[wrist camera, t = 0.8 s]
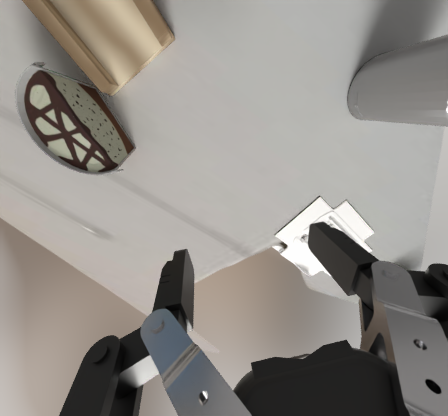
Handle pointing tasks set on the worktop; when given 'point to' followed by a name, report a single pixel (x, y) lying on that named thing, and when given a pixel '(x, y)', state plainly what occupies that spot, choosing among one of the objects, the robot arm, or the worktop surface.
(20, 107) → the food container
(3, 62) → the worktop surface
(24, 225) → the worktop surface
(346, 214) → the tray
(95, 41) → the channel board
